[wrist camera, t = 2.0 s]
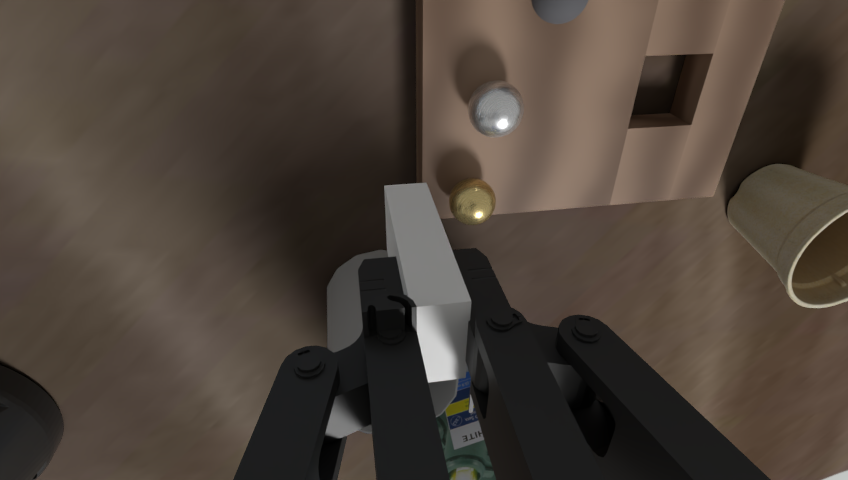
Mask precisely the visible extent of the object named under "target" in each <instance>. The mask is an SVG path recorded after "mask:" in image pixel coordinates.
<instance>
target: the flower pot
mask: <svg viewBox="0 0 848 480" xmlns="http://www.w3.org/2000/svg"><path fill="white" fill-rule="evenodd" d="M727 216H728V219H729V222H730V223H731V225H732V226H733V227H734V228H735V229H736V230H737V231H738V232H739V233H740V234H741V235H742V236H743V237H744V238H745V239H746V240H747V241H748V242H749V243H750V244H751V245H752V246H753V247H754V248H755V249H756V250H757V251H758V253H759V254H760V255H761V256H762V257H763V258H764V259H765V260H766V261H767V262H768V263H769V264H770V265H771V266H772V267H773V268H774V269H775V270H776V271H777V273H778V277H779V279H780V280H781V282H782V283H783V284H784V285H785V288H786V291H787V294H788V295H789V297H790V298H791V299H792V300H793V301H794V302H795V303H797V304H799V305H801V306H804V307H808V308H824V307H830V306H834V305H837V304H840V303H842V302H846V301H848V185H845V184H842V183H839V182H836V181H833V180H830V179H827V178H824V177H821V176H818V175H815V174H812V173H810V172H807V171H804V170H801V169H799V168H796V167H794V166H791V165H786V164H772V165H769V166H766V167H763V168H761V169H759V170H757V171H756V172H754V173H752V174H751V175H750V176H748V177H747V178H746V179H745V180H744V181H743V182H742V183H741V184H740V187H739V190H738V191H737V193H736V194H735V196H734V197H732V198H731V199H730V201H729V204H728V209H727Z"/></svg>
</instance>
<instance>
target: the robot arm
mask: <svg viewBox="0 0 848 480" xmlns="http://www.w3.org/2000/svg"><path fill="white" fill-rule="evenodd" d="M384 192H385V215H386V239H387V253H388V257H384V258H372V259H364V260H363V262H362V263H361V265H360V267H359V269H358V278H359V290H360V302H361V313H362V324H363V328H362V332H361V335H360V337H359V338H358V339H357V340H356V341H355V342H354V343H353V344H351V345H350V346H348V347H346V348H344V349H342V350H340V351H337V352H332V351H330V350H329V349H327V348H325V347H320V346H307V347H303V348H301V349H298V350H295V351H294V352H293V353H291V354H290V355H288V356H287V357H286V359H285V360H284V362H283V363H282V364H281V367H280V369H279V371H278V374H277V376H276V379H275V381H274V383H273V386H272V388H271V391H270V393H269V395H268V398H267V400H266V403H265V405H264V407H263V410H262V412H261V415H260V417H259V419H258V422H257V424H256V427H255V429H254V431H253V434H252V436H251V439H250V441H249V443H248V446H247V448H246V451H245V453H244V455H243V458H242V460H241V463H240V465H239V467H238V470H237V472H236V475H235V477H234V479H233V480H337V478H338V474H339V469H340V465H341V461H342V456H343V452H344V448H345V443H346V439H347V435H349V434H351V433H353V432H355V431H358V430H360V429H362V428H364V427H366V426H368V425H371V426H372V437H373V447H374V458H375V469H376V480H450V478H449V474H448V469H447V465H446V460H445V456H444V451H443V447H442V442H441V438H440V433H439V429H438V424H437V420H436V415H435V411H434V406H433V402H432V397H431V393H430V389H429V384H428V383H430V382H438V381H445V380H453V379H461V378H466V368H467V367H468V370H469V374H470V377H471V382H470V394H469V413H471V412H473V406H474V407H475V411H476V414H477V417H478V421H479V424H480V427H481V431H482V434H483V437H484V441H485V444H486V447H487V451H488V454H489V457H490V461H491V464H492V467H493V471H494V474H495V477H496V480H770V479H769V478H768V477H767V476H766V475H765V474H764V473H763V472H762V471H761V470H760V469H759V468H758V467H756V466H755V465H754V464H753V463H752V462H751V461H750V460H749V459H748V458H747V457H746V456H745V455H744V454H743V453H742V452H741V451H739V450H738V449H737V448H736V447H735V446H734V445H733V444H732V443H731V442H730V441H729V440H728V439H727V438H726V437H725V436H724V435H722V434H721V433H720V432H719V431H718V430H717V429H716V428H715V427H714V426H713V425H712V424H711V423H710V422H709V421H708V420H707V419H705V418H704V417H703V416H702V415H701V414H700V413H699V412H698V411H697V410H696V409H695V408H694V407H693V406H692V405H691V404H690V403H688V402H687V401H686V400H685V399H684V398H683V397H682V396H681V395H680V394H679V393H678V392H677V391H676V390H675V389H674V388H673V387H672V386H670V385H669V384H668V383H667V382H666V381H665V380H664V379H663V378H662V377H661V376H660V375H659V374H658V373H657V372H656V371H655V370H653V369H652V368H651V367H650V366H649V365H648V364H647V363H646V362H645V361H644V360H643V359H642V358H641V357H640V356H639V355H638V354H636V353H635V352H634V351H633V350H632V349H631V348H630V347H629V346H628V345H627V344H626V343H625V342H624V341H623V340H622V339H621V338H619V337H618V336H617V335H616V334H615V333H614V332H613V331H612V330H611V329H610V328H609V327H608V326H607V325H605V324H604V323H602V322H601V321H600V320H598V319H595V318H593V317H590V316H584V315H573V316H569V317H567V318H565V319H563V320H562V321H561V323H560V325H559V328H556V327H548V326H540V325H536V324H532V323H529V322H527V320H526V319H525V318H524V316H523V315H522V314H521V313H520V312H518V311H517V310H515V309H513V308H511V307H510V305H509V303H508V301H507V299H506V296H505V294H504V292H503V290H502V288H501V286H500V284H499V282H498V280H497V278H496V275H495V273H494V271H493V269H492V267H491V265H490V263H489V261H488V259H487V257H486V256H485V255H484V254H483V253H481V252H480V251H479V250H478V249H476V248H472V249H461V250H452V249H451V246H450V243H449V241H448V238H447V235H446V233H445V230H444V228H443V225H442V222H441V220H440V217H439V214H438V212H437V209H436V206H435V204H434V201H433V199H432V196H431V193H430V191H429V188H428V185H427V183H413V184H399V185H384ZM63 430H64V424H63V419H62V415H61V413H60V411H59V409H58V407H57V405H56V404H55V402H54V401H53V400H52V399H51V397H50V396H49V395H48V394H47V393H46V392H45V391H44V390H42V389H41V388H40V387H39V386H38V385H36V384H35V383H33V382H32V381H31V380H29V379H27V378H26V377H24V376H22V375H21V374H19V373H17V372H15V371H13V370H11V369H9V368H6V367H4V366H2V365H0V480H36V479H37V478H38V477H39V476H40V475H41V474H42V473H43V471H44V470H45V469H46V467H47V466H48V464H49V463H50V461H51V459H52V457H53V455H54V453H55V451H56V449H57V447H58V445H59V443H60V441H61V439H62V436H63Z"/></svg>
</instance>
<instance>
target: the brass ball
mask: <svg viewBox="0 0 848 480" xmlns="http://www.w3.org/2000/svg"><path fill="white" fill-rule="evenodd" d="M495 206H496V197H495V193H494V191H493V189H492V188H491V186H490V185H489V184H488V183H486V182H485V181H483V180H481V179H477V178H468V179H465V180H462V181H460V182H459V183H458V184H456V185H455V187H454V188H453V189H452V191H451V193H450V197H449V207H450V210H451V212H452V214H453V216H454V217H455V218H456V219H457V220H459V221H460V222H462V223H464V224H468V225H477V224H480V223H483V222H485V221H486V220H487V219H488V218H489V217H490V216H491V215H492V214H493V212H494V209H495Z"/></svg>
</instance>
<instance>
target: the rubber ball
mask: <svg viewBox="0 0 848 480" xmlns="http://www.w3.org/2000/svg"><path fill="white" fill-rule="evenodd" d="M531 2H532V6H533V8H534V11H535V12H536V14H537V15H538V16H539V17H540V18H541V19H542V20H544V21H546V22H548V23H552V24H563V23H567V22H569V21H571V20H573V19H575V18H576V17H577V16H578V15H579V14H580V13H581V12H582V11H583V10H584V8H585V7H586V5H587V3H588V0H531Z"/></svg>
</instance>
